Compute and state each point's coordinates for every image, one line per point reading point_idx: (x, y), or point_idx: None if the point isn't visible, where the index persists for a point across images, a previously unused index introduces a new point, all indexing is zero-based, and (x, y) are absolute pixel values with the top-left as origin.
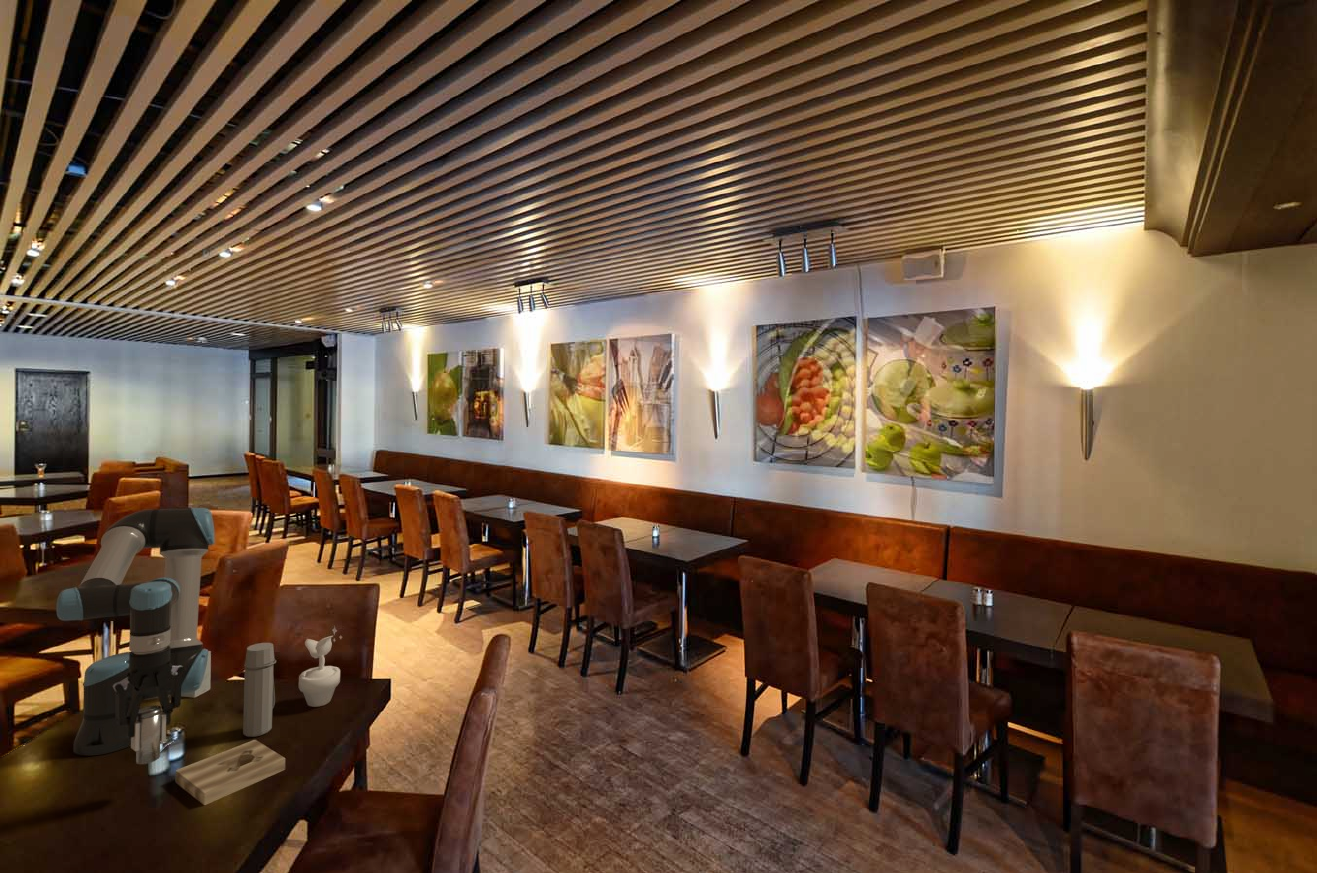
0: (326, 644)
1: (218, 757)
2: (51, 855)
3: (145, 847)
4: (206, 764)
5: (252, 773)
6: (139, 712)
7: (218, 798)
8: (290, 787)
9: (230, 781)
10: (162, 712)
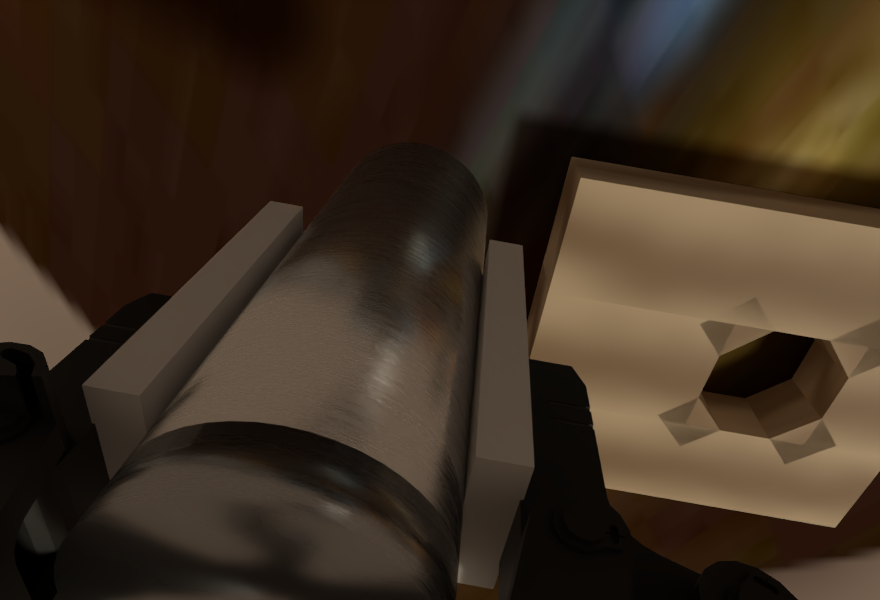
0: None
1: (776, 261)
2: (60, 253)
3: None
4: (689, 272)
5: (688, 497)
6: (93, 590)
7: None
8: (695, 566)
9: None
10: (505, 518)
